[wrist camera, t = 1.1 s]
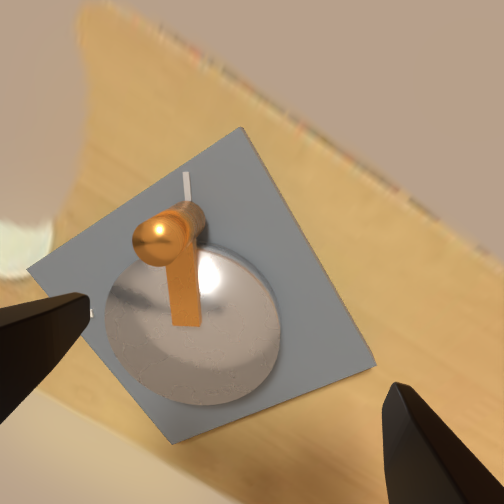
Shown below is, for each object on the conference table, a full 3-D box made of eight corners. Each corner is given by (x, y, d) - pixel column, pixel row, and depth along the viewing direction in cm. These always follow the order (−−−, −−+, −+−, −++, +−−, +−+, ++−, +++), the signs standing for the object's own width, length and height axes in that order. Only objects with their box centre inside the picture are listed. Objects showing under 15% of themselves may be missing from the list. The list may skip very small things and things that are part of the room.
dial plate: (177, 430, 30) (171, 446, 28) (40, 262, 26) (24, 270, 24) (371, 352, 25) (377, 367, 23) (243, 127, 21) (239, 126, 19)
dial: (280, 390, 25) (277, 457, 20) (131, 381, 26) (91, 441, 21) (281, 199, 20) (278, 220, 15) (99, 199, 21) (37, 219, 16)
